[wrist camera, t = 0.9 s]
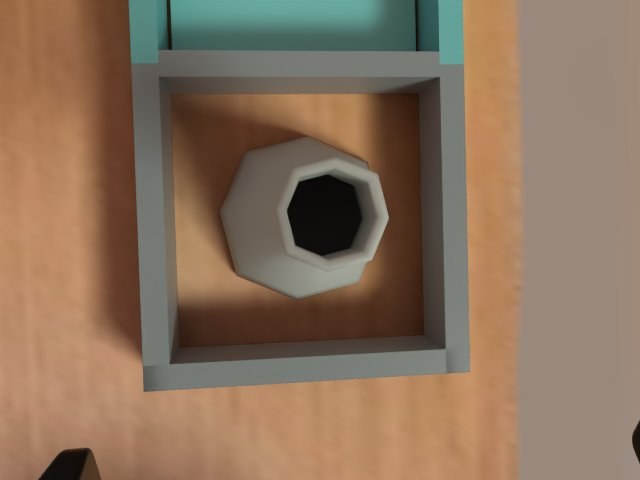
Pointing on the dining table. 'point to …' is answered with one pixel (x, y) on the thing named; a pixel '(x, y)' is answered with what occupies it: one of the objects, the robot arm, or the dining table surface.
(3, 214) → the dining table surface
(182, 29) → the tray
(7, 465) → the dining table surface
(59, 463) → the robot arm
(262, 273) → the flask
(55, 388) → the dining table surface
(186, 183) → the dining table surface
